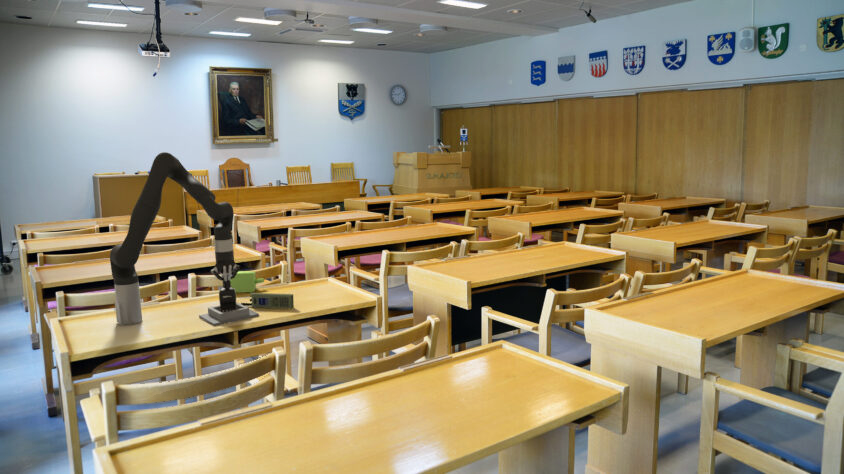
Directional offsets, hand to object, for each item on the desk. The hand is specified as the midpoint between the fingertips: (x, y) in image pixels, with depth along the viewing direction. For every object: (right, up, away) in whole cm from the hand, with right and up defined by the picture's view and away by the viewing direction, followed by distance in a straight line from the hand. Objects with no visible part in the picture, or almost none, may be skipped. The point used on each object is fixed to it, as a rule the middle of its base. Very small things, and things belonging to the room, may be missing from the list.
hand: (227, 288), depth 269 cm
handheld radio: (+13, -10, +16) cm, 23 cm away
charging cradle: (0, -12, +2) cm, 12 cm away
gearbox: (-5, -5, +46) cm, 46 cm away
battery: (0, -11, +2) cm, 12 cm away
